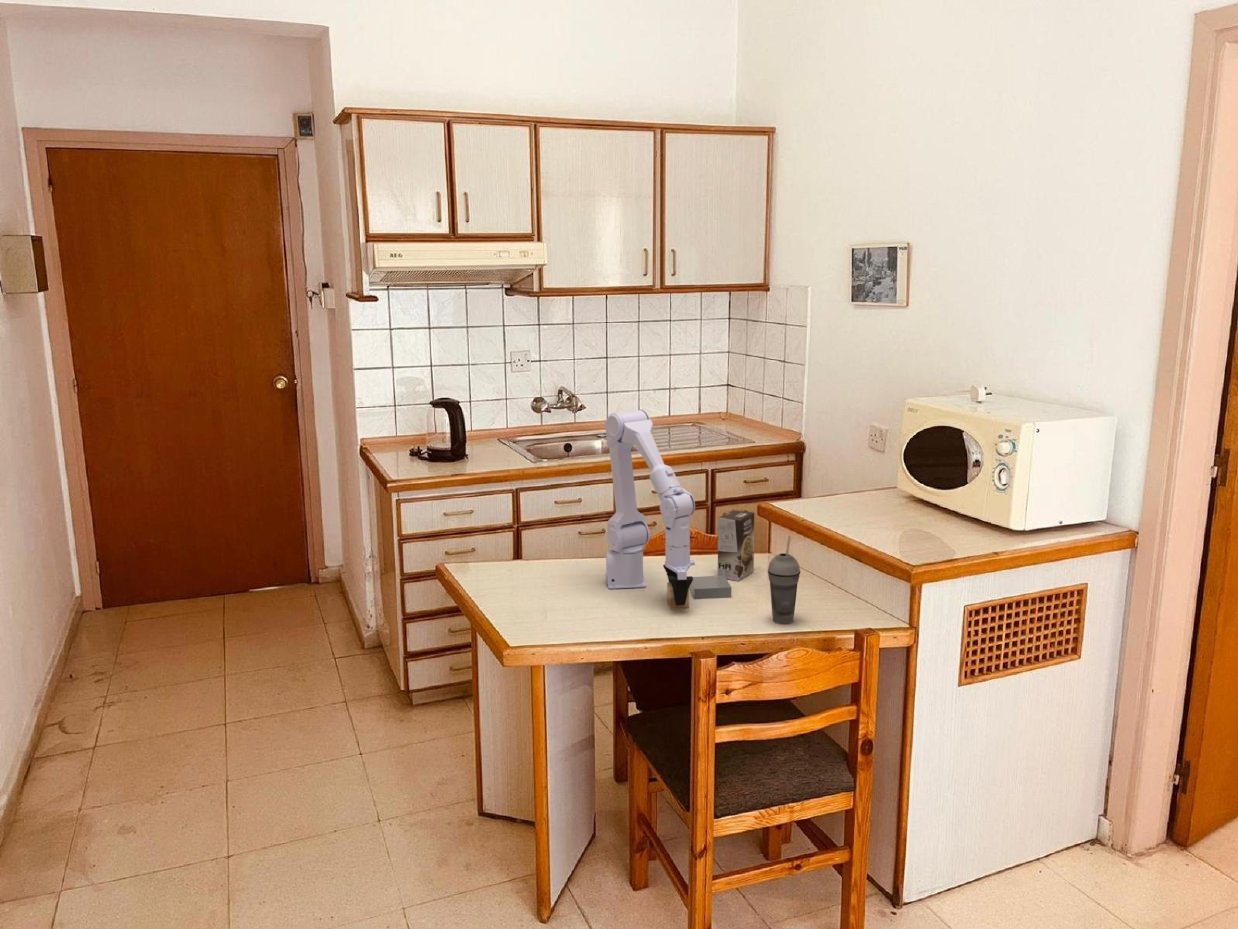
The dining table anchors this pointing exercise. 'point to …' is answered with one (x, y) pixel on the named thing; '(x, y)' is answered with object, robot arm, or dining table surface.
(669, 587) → the oak block
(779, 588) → the beverage cup
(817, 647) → the dining table surface
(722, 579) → the slate base
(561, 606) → the dining table surface
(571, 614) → the dining table surface
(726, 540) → the coffee box
